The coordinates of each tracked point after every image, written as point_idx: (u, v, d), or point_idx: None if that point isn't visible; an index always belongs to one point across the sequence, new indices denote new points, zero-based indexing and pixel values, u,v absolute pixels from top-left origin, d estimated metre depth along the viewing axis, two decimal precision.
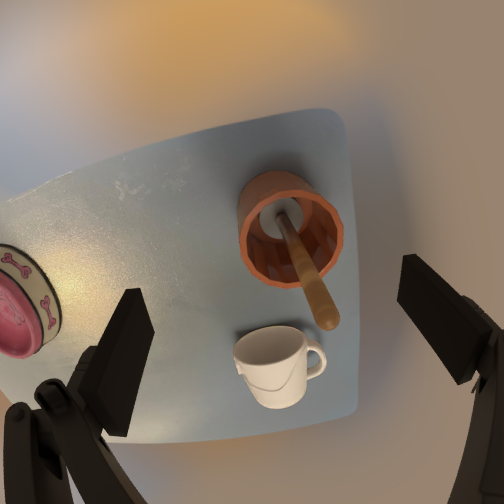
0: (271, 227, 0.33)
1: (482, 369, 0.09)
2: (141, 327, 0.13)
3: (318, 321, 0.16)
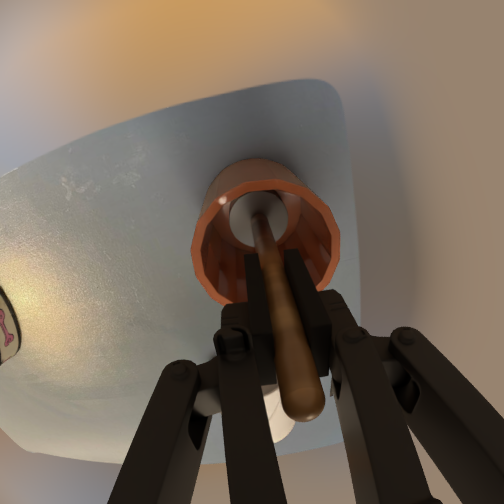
0: (245, 233, 0.25)
1: None
2: None
3: (284, 408, 0.09)
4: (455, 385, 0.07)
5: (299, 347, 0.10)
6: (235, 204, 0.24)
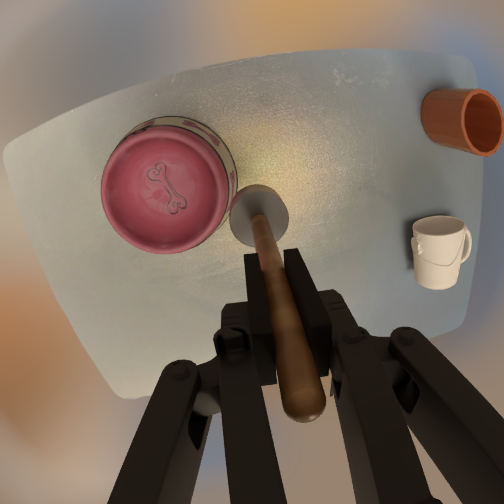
0: (245, 233, 0.25)
1: None
2: None
3: (285, 409, 0.09)
4: (455, 385, 0.07)
5: (300, 348, 0.10)
6: (235, 204, 0.24)
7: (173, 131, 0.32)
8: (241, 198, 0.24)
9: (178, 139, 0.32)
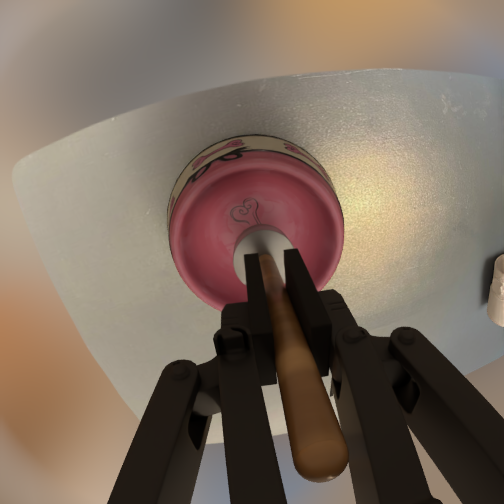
0: None
1: None
2: None
3: (298, 466, 0.06)
4: (455, 385, 0.07)
5: (315, 392, 0.08)
6: (240, 244, 0.23)
7: (285, 161, 0.24)
8: (246, 237, 0.23)
9: (293, 173, 0.24)
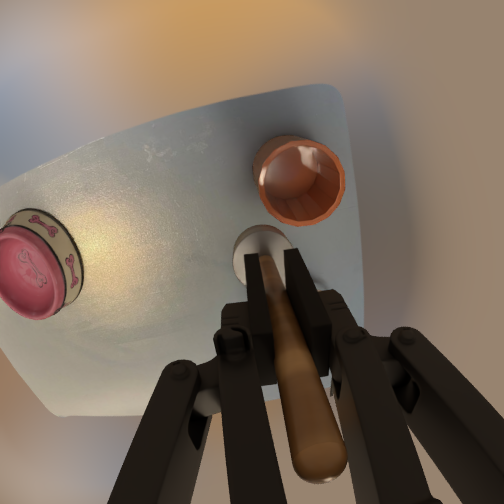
0: None
1: None
2: None
3: (297, 468, 0.06)
4: (455, 385, 0.07)
5: (314, 394, 0.08)
6: (239, 244, 0.23)
7: (15, 233, 0.34)
8: (245, 238, 0.23)
9: (19, 239, 0.35)
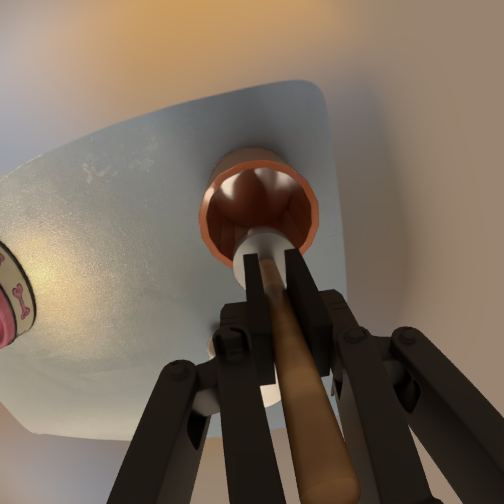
0: None
1: None
2: None
3: None
4: (456, 385, 0.07)
5: (324, 421, 0.07)
6: (240, 247, 0.22)
7: None
8: (246, 240, 0.22)
9: None
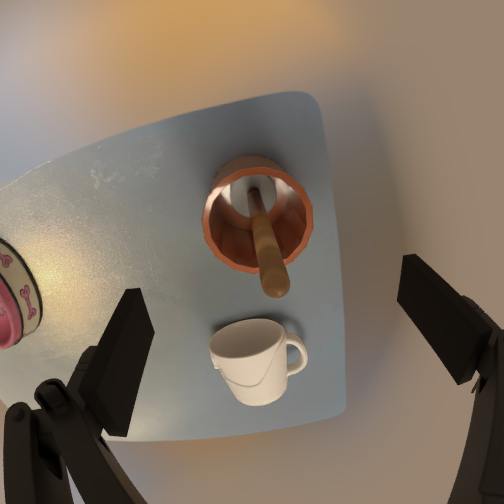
0: (249, 209, 0.32)
1: (482, 369, 0.09)
2: (141, 327, 0.13)
3: (264, 291, 0.15)
4: None
5: (268, 255, 0.17)
6: (230, 193, 0.31)
7: None
8: (232, 186, 0.31)
9: None
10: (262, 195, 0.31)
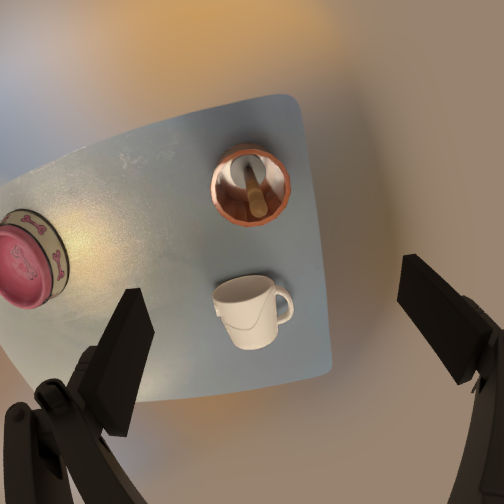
0: (244, 182, 0.42)
1: (482, 369, 0.09)
2: (141, 327, 0.13)
3: None
4: None
5: (254, 195, 0.26)
6: (231, 170, 0.41)
7: (9, 231, 0.38)
8: (232, 165, 0.41)
9: (12, 237, 0.39)
10: (255, 172, 0.41)
